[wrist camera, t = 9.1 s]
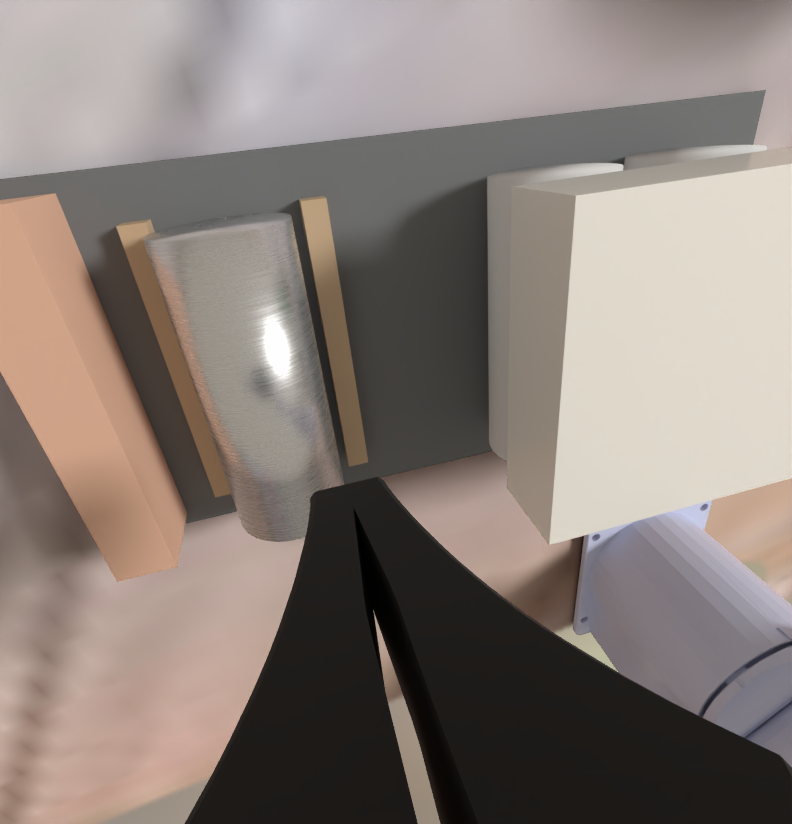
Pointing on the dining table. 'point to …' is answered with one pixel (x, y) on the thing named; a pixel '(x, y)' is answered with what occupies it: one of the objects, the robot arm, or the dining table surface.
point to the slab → (649, 340)
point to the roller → (252, 362)
